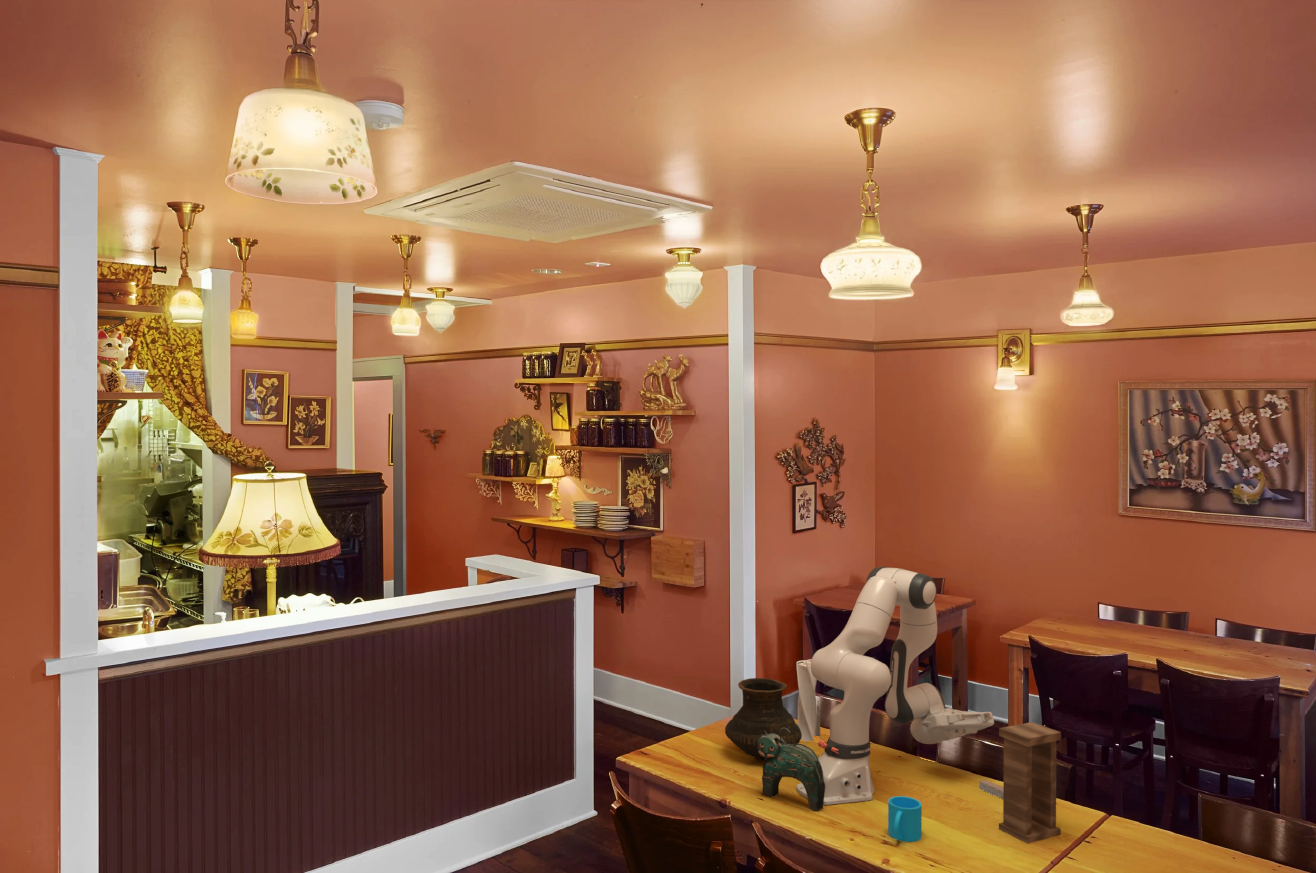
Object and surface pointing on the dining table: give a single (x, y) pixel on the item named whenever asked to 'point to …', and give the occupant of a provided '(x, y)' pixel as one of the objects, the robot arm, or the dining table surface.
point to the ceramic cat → (791, 767)
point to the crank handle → (991, 788)
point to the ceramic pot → (761, 716)
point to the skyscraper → (807, 702)
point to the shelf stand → (1029, 782)
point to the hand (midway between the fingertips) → (976, 716)
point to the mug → (905, 819)
